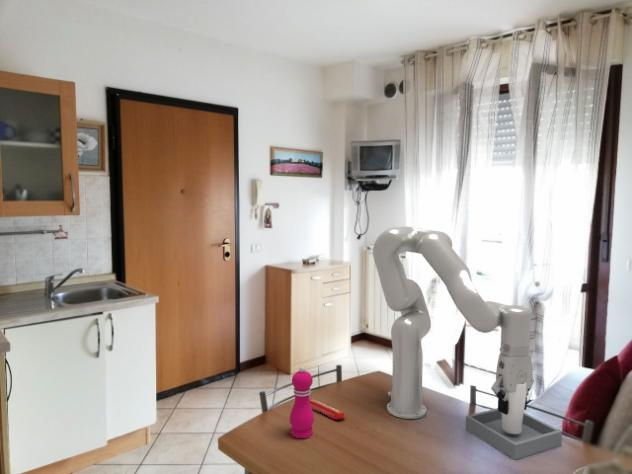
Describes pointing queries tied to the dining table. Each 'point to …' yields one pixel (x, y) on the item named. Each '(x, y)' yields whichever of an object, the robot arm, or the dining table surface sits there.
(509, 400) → the drinking glass
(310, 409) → the pepper mill
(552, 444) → the tray
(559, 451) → the dining table surface
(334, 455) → the dining table surface
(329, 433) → the dining table surface
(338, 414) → the candy bar
